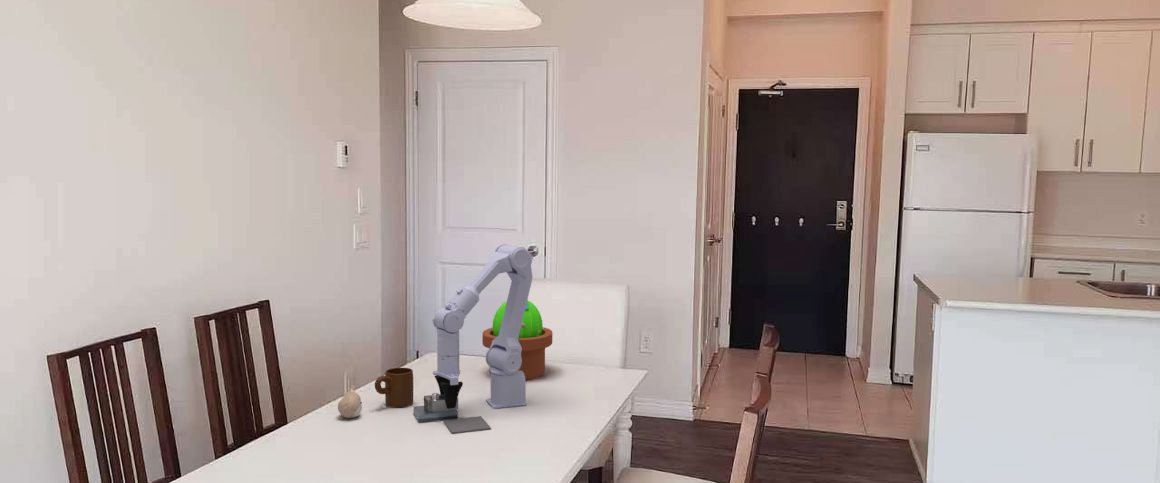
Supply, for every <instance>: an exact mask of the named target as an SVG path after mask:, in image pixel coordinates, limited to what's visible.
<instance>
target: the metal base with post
mask: <svg viewBox="0 0 1160 483" xmlns="http://www.w3.org/2000/svg"><path fill="white" fill-rule="evenodd" d="M431 395H432V400H435V399H439V393H438V392H435V393H431ZM413 416H414V417H415V419H416V421H417V422H418V423H419V424H421V423H431V422H440V421H441V422H443V420H450V419H459V417H458V416H459V414H458V410H450V411H441V412H431V413H428V412H427V411H426V409H425V408H424V405H415V406H413Z"/></svg>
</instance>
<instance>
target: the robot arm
mask: <svg viewBox="0 0 1160 483" xmlns="http://www.w3.org/2000/svg"><path fill="white" fill-rule="evenodd" d="M532 263H533V256H532V254H531V252H530V251H529V250H528V249H527V248H526V247H524V246H517V245H516V246H515V245H510V244H509V245H508V244H505V243H503V244H500V245H498V246H497V247H496V248H495V249H494V251H493V252H492V253H490V256H489V258H488V261H487V262H486V263H485V264H484V266H483V267H482V268H481V270H480V271H479V272H478V274H477V275H476V276H475V278H474V279H473V280H472V281H471V283H470V284H469V285H467V286H462V287H461V288H458V289H457V290H456V294H455V295H454V296H453V298H452V299H451V300H450V301H449V302H446V304H445V307H442V308H440V309H439V310H438V311H436V313H435V315H434V318H432V324H433V326H434V327H435V329H436V343H437V345H436V346H437V347H436V349H437V350H436V351H437V352H436V355H437V356H436V357H437V359H436V360H437V365H436V366H437V370H434V371H432V374H433V376H434V378H435V380H436V383H437V385H438V388H439V393H440V394H444V395H445V401H446V406H447V409H451V408H455V407H456V403H457V398H458V399H459V393H460V391H461V389H462V387H463V384H464V382H462V381H459V376H460V374H461V370H460V330H461V329H462V328H463V327H464V324H465V319H466V318H467V315H469V314H470V312H471V311H472V309H473V308H474V307H475V306H476V305H477V304H478V302H479V301H480V294H481V293H482V291H483V290H484V289H486V287H488V285H489V284H490V283H491V282H493V280H494V279H496V277H497V276H498V275H499V274H504V273H506V274H507V276H508V277H509V278H510V280H511V282H510V286H509V289H508V290H509V291H508V295H507V298H506V301H507V303H506V307H505V311H504V315H503V319H502V323H501V328H500V332H499V335H498V336H497V337H496V338H495V339H494V340H493V341H492V344H491V347H490V348H488V350H487V351H486V353H485V361H486V364H487V366H489V372H490V371H491V374H490V397H489V398H486V399H485V401H486V402H487V403H488V404H489V405H490V406H491V408H493V409H499V408H500V409H501V408H509V407H518V406H526V405H527V402H526V400H527V399H526V395H527V394H526V392H527V390H526V388H527V387H526V384H527V383H526V381H527V380H525V375H524V373H523V371H518V370H519V369H520V367H521V363H522V358H521V351H522V347H521V345H520V343H519V341H518V337H519V333H520V329H521V325H522V320H523V316H524V312H525V308H526V304H527V300H529V294H530V291H531V290H530V289H531V287H532V282H533V272H532V270H533V269H532Z"/></svg>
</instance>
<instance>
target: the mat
mask: <svg viewBox="0 0 1160 483" xmlns="http://www.w3.org/2000/svg"><path fill="white" fill-rule="evenodd" d="M442 422H443V424H444V425H445V426H446V428H447V429H448V432H450V434H451V435H454V434H462V433H463V434H464V433H471V432H472V433H474V432H479V431H481V432H482V431H489V430H492V427H491V426H490V425H489V423H488V422H487V421H486V420H485V419H484V418H483V417H482V416H481V415H479V416H468V417H461V418H459V417H458V419H450V420H443V421H442Z"/></svg>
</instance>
